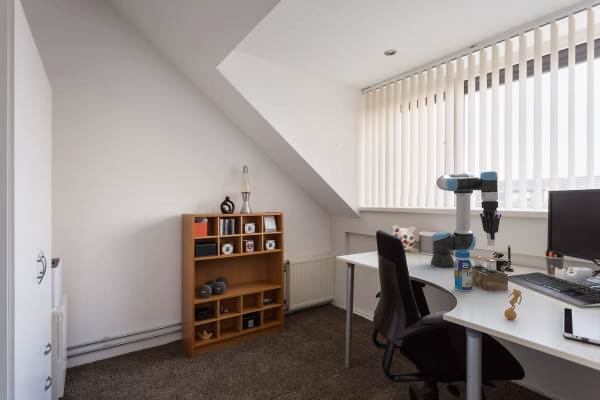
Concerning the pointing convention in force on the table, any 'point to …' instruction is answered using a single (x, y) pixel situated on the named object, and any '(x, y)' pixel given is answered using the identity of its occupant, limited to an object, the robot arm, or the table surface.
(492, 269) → the front peg
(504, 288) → the walnut block
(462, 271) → the beverage bottle
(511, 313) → the figurine
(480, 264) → the back peg
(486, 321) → the table surface
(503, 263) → the coffee mug
